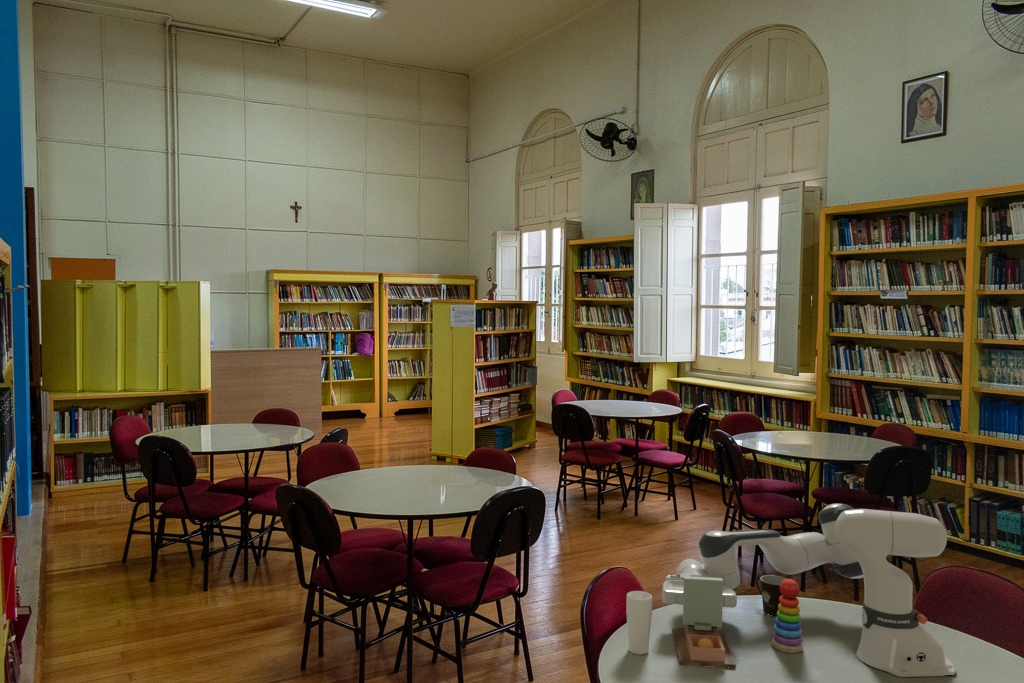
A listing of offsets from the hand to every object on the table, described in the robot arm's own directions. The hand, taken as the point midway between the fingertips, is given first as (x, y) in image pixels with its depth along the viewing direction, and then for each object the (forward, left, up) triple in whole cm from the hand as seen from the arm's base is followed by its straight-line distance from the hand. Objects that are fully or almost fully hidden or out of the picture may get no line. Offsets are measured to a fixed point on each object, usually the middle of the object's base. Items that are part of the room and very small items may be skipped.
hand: (702, 606), depth 198 cm
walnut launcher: (0, +1, -11) cm, 11 cm away
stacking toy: (-23, -3, -11) cm, 26 cm away
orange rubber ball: (0, +8, -8) cm, 11 cm away
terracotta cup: (0, +7, -11) cm, 13 cm away
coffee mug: (-25, -29, -11) cm, 40 cm away
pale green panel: (0, +1, -6) cm, 6 cm away
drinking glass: (+17, +5, -11) cm, 21 cm away
